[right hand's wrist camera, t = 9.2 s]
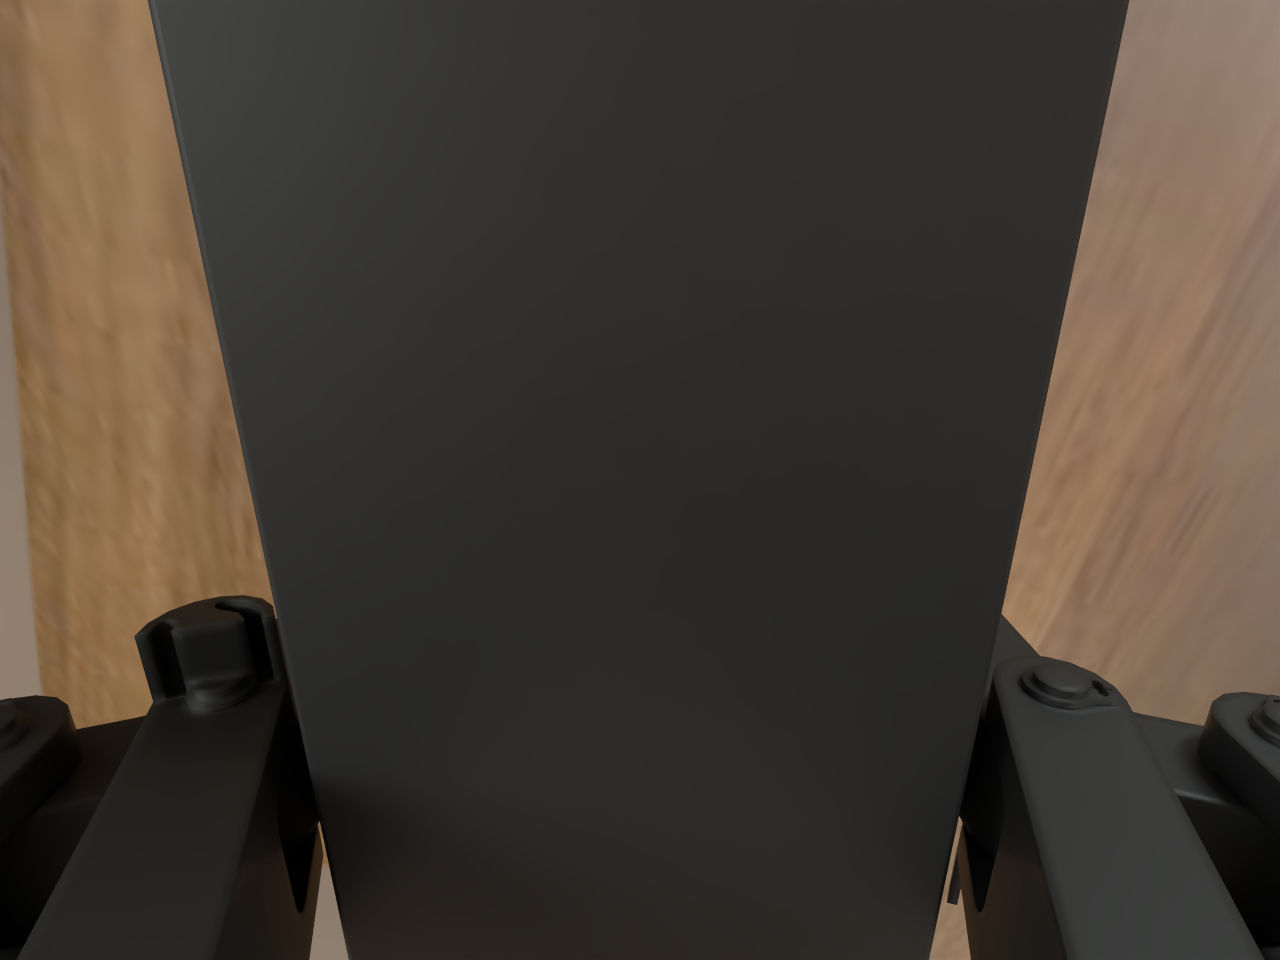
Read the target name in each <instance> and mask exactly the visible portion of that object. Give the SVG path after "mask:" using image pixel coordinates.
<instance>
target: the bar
mask: <svg viewBox="0 0 1280 960" xmlns="http://www.w3.org/2000/svg"><path fill="white" fill-rule="evenodd" d="M148 4H149V8H150V13H151V18H152V23H153V28H154V32H155V37H156V42H157V47H158V51H159V56H160V61H161V66H162V70H163V75H164V80H165V85H166V90H167V94H168V99H169V104H170V109H171V113H172V118H173V123H174V128H175V132H176V137H177V142H178V147H179V152H180V156H181V161H182V166H183V171H184V175H185V180H186V185H187V190H188V194H189V199H190V204H191V209H192V214H193V218H194V223H195V228H196V233H197V237H198V242H199V247H200V252H201V256H202V261H203V266H204V271H205V276H206V280H207V285H208V290H209V295H210V299H211V304H212V309H213V314H214V318H215V323H216V328H217V333H218V338H219V342H220V347H221V352H222V357H223V361H224V366H225V371H226V376H227V381H228V385H229V390H230V395H231V400H232V404H233V409H234V414H235V419H236V423H237V428H238V433H239V438H240V443H241V447H242V452H243V457H244V462H245V466H246V471H247V476H248V481H249V485H250V490H251V495H252V500H253V505H254V509H255V514H256V519H257V524H258V528H259V533H260V538H261V543H262V547H263V552H264V557H265V562H266V567H267V571H268V576H269V581H270V586H271V590H272V595H273V600H274V605H275V609H276V614H277V619H278V624H279V629H280V633H281V638H282V643H283V648H284V652H285V657H286V662H287V667H288V671H289V676H290V681H291V686H292V691H293V695H294V700H295V705H296V710H297V714H298V719H299V724H300V729H301V733H302V738H303V743H304V748H305V753H306V757H307V762H308V767H309V772H310V776H311V781H312V786H313V791H314V796H315V800H316V805H317V810H318V815H319V819H320V824H321V829H322V834H323V838H324V843H325V848H326V853H327V858H328V862H329V867H330V872H331V877H332V881H333V886H334V891H335V896H336V900H337V905H338V910H339V915H340V919H341V924H342V929H343V934H344V939H345V943H346V948H347V953H348V958H349V960H929V957H930V952H931V947H932V942H933V938H934V933H935V928H936V923H937V918H938V914H939V909H940V904H941V899H942V894H943V890H944V885H945V880H946V875H947V871H948V866H949V861H950V856H951V851H952V847H953V842H954V837H955V832H956V827H957V823H958V818H959V813H960V808H961V804H962V799H963V794H964V789H965V784H966V780H967V775H968V770H969V765H970V760H971V756H972V751H973V746H974V741H975V736H976V732H977V727H978V722H979V717H980V713H981V708H982V703H983V698H984V693H985V689H986V684H987V679H988V674H989V669H990V665H991V660H992V655H993V650H994V646H995V641H996V636H997V631H998V626H999V622H1000V617H1001V612H1002V607H1003V602H1004V598H1005V593H1006V588H1007V583H1008V579H1009V574H1010V569H1011V564H1012V559H1013V555H1014V550H1015V545H1016V540H1017V535H1018V531H1019V526H1020V521H1021V516H1022V511H1023V507H1024V502H1025V497H1026V492H1027V488H1028V483H1029V478H1030V473H1031V468H1032V464H1033V459H1034V454H1035V449H1036V444H1037V440H1038V435H1039V430H1040V425H1041V421H1042V416H1043V411H1044V406H1045V401H1046V397H1047V392H1048V387H1049V382H1050V377H1051V373H1052V368H1053V363H1054V358H1055V354H1056V349H1057V344H1058V339H1059V334H1060V330H1061V325H1062V320H1063V315H1064V310H1065V306H1066V301H1067V296H1068V291H1069V286H1070V282H1071V277H1072V272H1073V267H1074V263H1075V258H1076V253H1077V248H1078V243H1079V239H1080V234H1081V229H1082V224H1083V219H1084V215H1085V210H1086V205H1087V200H1088V196H1089V191H1090V186H1091V181H1092V176H1093V172H1094V167H1095V162H1096V157H1097V152H1098V148H1099V143H1100V138H1101V133H1102V129H1103V124H1104V119H1105V114H1106V109H1107V105H1108V100H1109V95H1110V90H1111V85H1112V81H1113V76H1114V71H1115V66H1116V61H1117V57H1118V52H1119V47H1120V42H1121V38H1122V33H1123V28H1124V23H1125V18H1126V14H1127V9H1128V4H1129V0H148Z"/></svg>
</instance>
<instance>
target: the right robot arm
mask: <svg viewBox="0 0 1280 960" xmlns="http://www.w3.org/2000/svg"><path fill="white" fill-rule="evenodd" d="M134 637H135V640H136V644H137V647H138V651H139V654H140V657H141V661H142V664H143V668H144V671H145V675H146V678H147V682H148V685H149V689H150V692H151V695H152V699H153V704H152V705H151V707H150V709H149V711H148V713H147V715H146V716H142V717H138V718H133V719H128V720H123V721H118V722H112V723H107V724H102V725H97V726H92V727H87V728H82V729H76V728H75V725H74V722H73V719H72V716H71V713H70V710H69V707H68V705H67V704H66V703H64V702H63V701H61V700H60V699H58V698H57V697H48V696H37V695H35V696H27V697H20V698H13V699H12V698H9V699H4V700H0V960H309V958H310V950H311V943H312V935H313V928H314V921H315V913H316V906H317V898H318V891H319V884H320V876H321V869H322V861H323V850H322V843H321V837H320V832H319V827H318V823H319V821H320V819H319V815H318V810H317V805H316V800H315V796H314V791H313V786H312V781H311V776H310V772H309V767H308V762H307V757H306V753H305V748H304V743H303V738H302V733H301V729H300V724H299V719H298V714H297V710H296V705H295V700H294V695H293V691H292V686H291V681H290V676H289V671H288V667H287V662H286V657H285V652H284V648H283V643H282V638H281V633H280V629H279V624H278V619H275V614H274V609H273V606H272V605H271V604H269V603H268V602H267V601H265V600H264V599H262V598H256V597H251V596H245V595H241V596H221V597H216V598H211V599H206V600H201V601H196V602H193V603H190V604H187V605H185V606H182V607H179V608H176V609H174V610H171V611H168V612H167V613H165V614H163V615H161V616H160V617H158V618H156V619H154V620H152V621H151V622H149V623H148V624H146V625H145V626H144V627H143V628H142V629H141V630H140V631H139V632H138V633H137V634H136V635H135V636H134ZM959 816H960V818H961V820H962V822H963V823H962V827H961V832H960V837H959V842H958V847H957V852H956V856H955V861H954V866H953V871H952V876H951V881H950V885H949V892H948V899H947V903H951V904H955V905H957V903H958V898H959V893H960V889H962V897H963V904H964V911H965V919H966V926H967V933H968V941H969V948H970V956H971V960H1280V697H1279V696H1275V695H1264V694H1256V693H1249V692H1239V693H1228V694H1223V695H1222V696H1220V697H1219V698H1217V699H1216V700H1214V701H1213V702H1212V705H1211V708H1210V711H1209V714H1208V717H1207V720H1206V723H1205V726H1200V725H1195V724H1190V723H1185V722H1179V721H1174V720H1169V719H1164V718H1159V717H1153V716H1148V715H1143V714H1139V713H1135V712H1132V710H1131V708H1130V706H1129V704H1128V702H1127V701H1126V700H1125V698H1124V697H1123V696H1122V695H1121V694H1120V692H1119V691H1118V690H1117V689H1116V688H1115V687H1114V686H1113V685H1112V684H1110V683H1109V682H1107V681H1106V680H1104V679H1103V678H1101V677H1100V676H1098V675H1097V674H1095V673H1093V672H1091V671H1088V670H1086V669H1084V668H1081V667H1079V666H1077V665H1074V664H1072V663H1069V662H1065V661H1061V660H1057V659H1053V658H1049V657H1042V656H1040V655H1039V654H1038V653H1037V652H1036V651H1035V650H1034V649H1033V648H1032V647H1031V646H1030V645H1029V643H1028V642H1027V641H1026V640H1025V639H1024V638H1023V637H1022V636H1021V635H1020V634H1019V633H1018V631H1017V630H1016V629H1015V628H1014V627H1013V626H1012V625H1011V624H1010V623H1009V622H1008V621H1007V619H1006V618H1005V617H1004V616H1003V615H1002V614H1001V617H1000V622H999V626H998V631H997V636H996V641H995V646H994V650H993V655H992V660H991V665H990V669H989V674H988V679H987V684H986V689H985V693H984V698H983V703H982V708H981V713H980V717H979V722H978V727H977V732H976V736H975V741H974V746H973V751H972V756H971V760H970V765H969V770H968V775H967V780H966V784H965V789H964V794H963V799H962V804H961V808H960V813H959Z"/></svg>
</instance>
